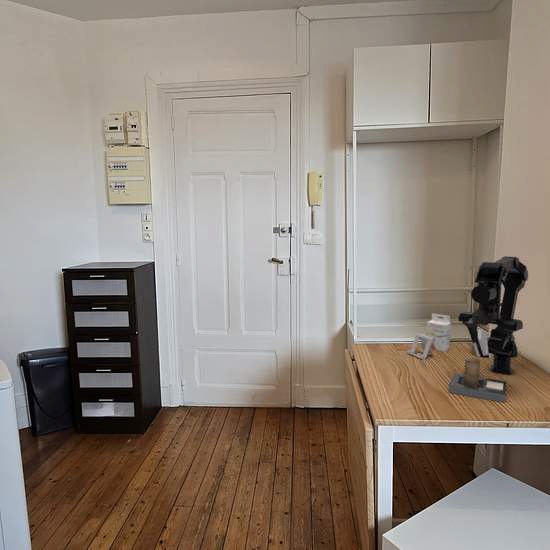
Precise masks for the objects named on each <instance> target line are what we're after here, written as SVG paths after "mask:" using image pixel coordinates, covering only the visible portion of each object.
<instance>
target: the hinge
mask: <svg viewBox="0 0 550 550" xmlns="http://www.w3.org/2000/svg"><path fill="white" fill-rule="evenodd" d="M487 342H488V338H487V336H486V334H485V331H484V329H477V335H476V341H475V343H473V342H472V346H473V349H474V352H475V355H476V357H477V356H479V358H480V357H481V356H488V357H489V359H491V358H492V354H491V353H488V345H487Z"/></svg>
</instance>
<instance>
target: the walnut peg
mask: <svg viewBox="0 0 550 550" xmlns="http://www.w3.org/2000/svg"><path fill="white" fill-rule="evenodd" d="M480 366H481V361H480V360H479V359H478V358H473V357H467V358H464V371H463V372H464V373H463V375H464V384H463V385H466V386H471V387H477V388H480V387H479V377H480V369H481V368H480Z"/></svg>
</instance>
